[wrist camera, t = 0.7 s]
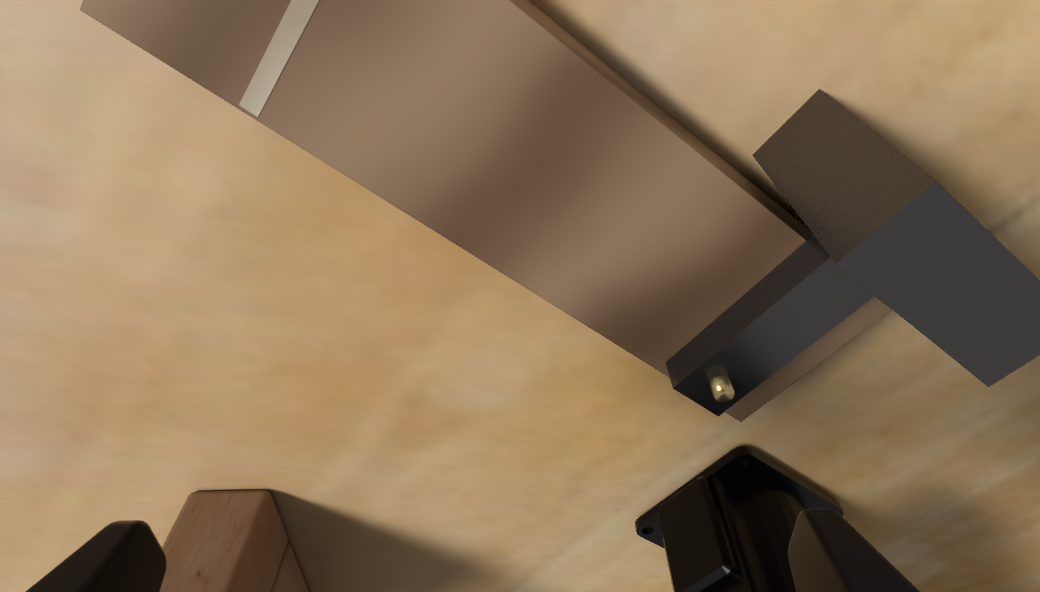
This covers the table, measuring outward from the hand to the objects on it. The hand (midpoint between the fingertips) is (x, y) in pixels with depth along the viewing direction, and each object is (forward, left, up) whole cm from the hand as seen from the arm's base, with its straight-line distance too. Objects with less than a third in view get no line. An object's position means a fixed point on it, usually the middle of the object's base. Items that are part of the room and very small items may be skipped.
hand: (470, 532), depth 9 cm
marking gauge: (-9, -3, -12) cm, 15 cm away
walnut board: (-1, -1, -12) cm, 12 cm away
